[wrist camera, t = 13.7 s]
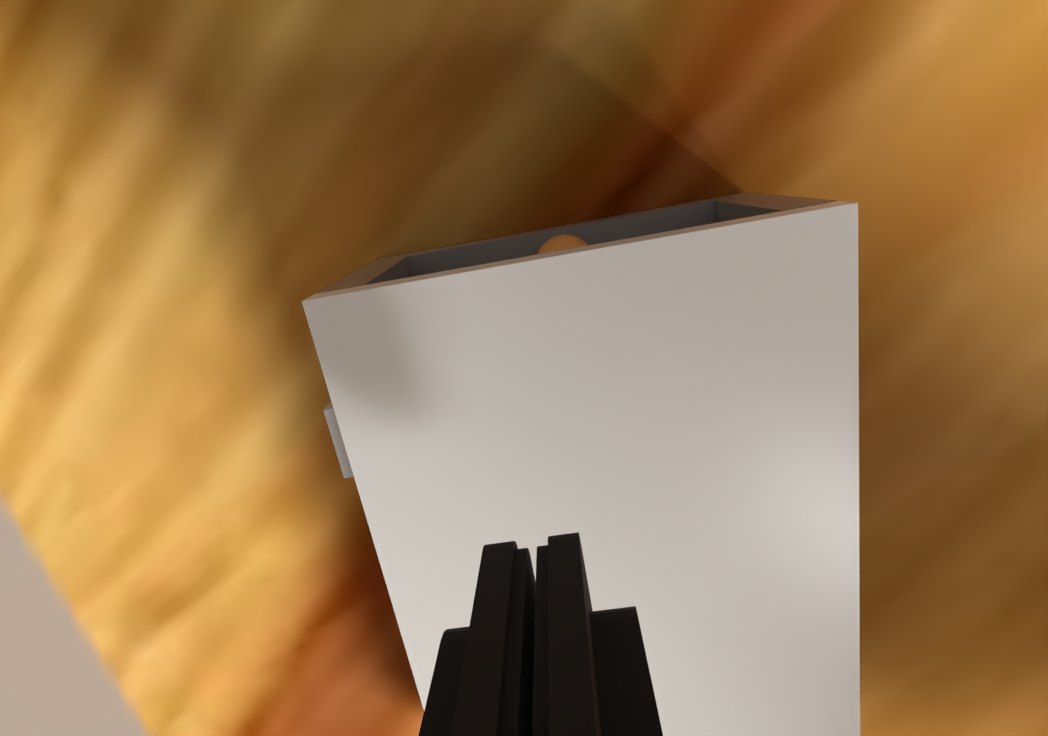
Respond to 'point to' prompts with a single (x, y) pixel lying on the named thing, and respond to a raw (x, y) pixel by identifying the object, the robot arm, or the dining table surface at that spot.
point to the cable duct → (556, 241)
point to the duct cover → (630, 450)
